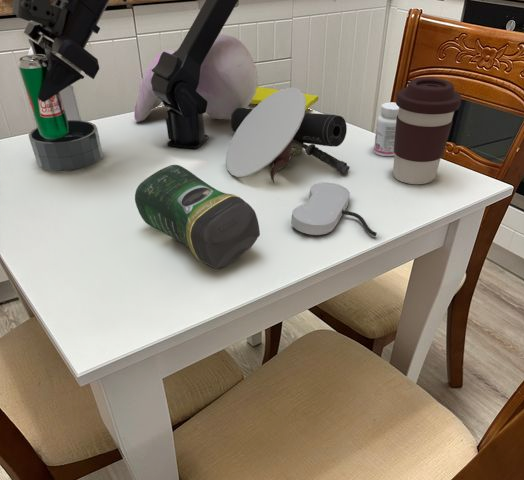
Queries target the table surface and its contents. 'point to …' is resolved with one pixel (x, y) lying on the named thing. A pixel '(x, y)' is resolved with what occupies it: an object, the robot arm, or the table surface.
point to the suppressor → (307, 127)
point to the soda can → (45, 113)
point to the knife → (324, 157)
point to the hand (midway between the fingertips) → (35, 96)
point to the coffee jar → (197, 215)
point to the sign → (266, 92)
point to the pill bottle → (386, 130)
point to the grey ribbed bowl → (68, 148)
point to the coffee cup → (423, 128)
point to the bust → (212, 80)
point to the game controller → (324, 210)
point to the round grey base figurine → (267, 134)
